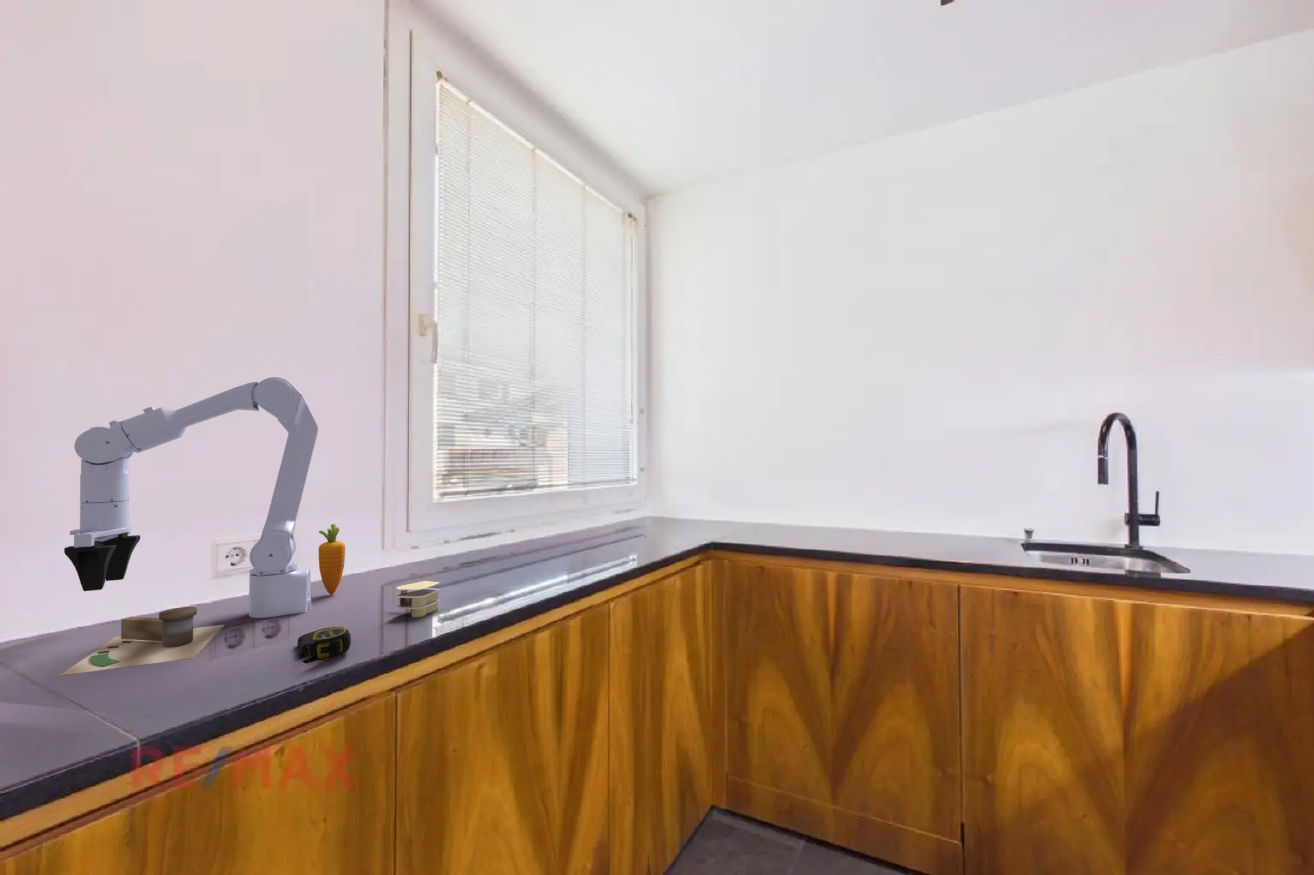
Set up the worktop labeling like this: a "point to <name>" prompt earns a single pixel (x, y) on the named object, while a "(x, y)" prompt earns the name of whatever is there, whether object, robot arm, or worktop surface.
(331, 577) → the carrot
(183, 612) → the dial pointer
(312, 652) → the tape measure
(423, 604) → the stacked layers on plate
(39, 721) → the worktop surface
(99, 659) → the dial board
